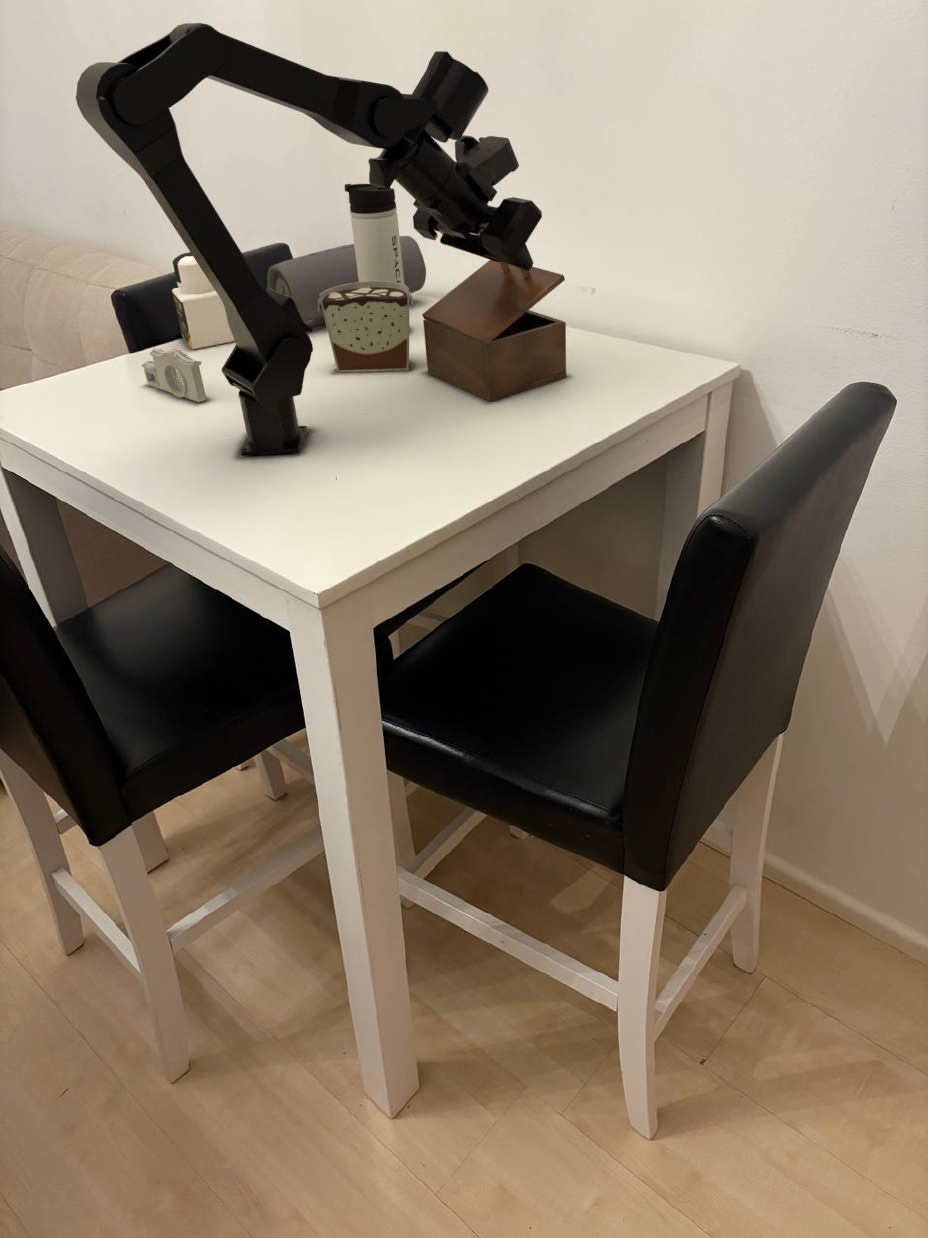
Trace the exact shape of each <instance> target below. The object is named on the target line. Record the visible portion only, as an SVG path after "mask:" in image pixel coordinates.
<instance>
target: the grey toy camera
mask: <svg viewBox="0 0 928 1238" xmlns="http://www.w3.org/2000/svg"><path fill="white" fill-rule="evenodd" d="M149 355H150V356H152V360H145V361H143V363H142V364H141V368H143V372H144V375H145V380H146V383H147V384H148V386H151V387H153V388H157V389H158V390H159V389H160V390H162V391H165V392H168V393H171V394H173V395H174V396H175V397H176V398H185V399H187V400H191V401H194V402H197V403H201V402H203V401H206V400H207V395H206V391H205V386H204V382H203V378H202V372H201V369H200V366H202V363H203V361H201V360H195V359H194V358H192V357H190V356H188V354H187V353H184V351H182V350H181V349H174V348H173V349H172V348H171V349H168V350H163V349H162V348H155V347H153V348H152V349H151V351H150V352H149Z"/></svg>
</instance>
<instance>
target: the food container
mask: <svg viewBox="0 0 928 1238" xmlns="http://www.w3.org/2000/svg"><path fill="white" fill-rule="evenodd" d="M319 296H320V299H319V300H318V312H319V311H320V310H321V309H322V310H323V314H324V318H325V322H326V323H325V326H326V330H327V334H328V338H329V342H330V346H331V350H332V351H331V352H332V354H333V358H334V362H335V366H336V371H337V373H366V372H367V373H368V372H369V373H370V372H397V371H398V372H400V371H409V370H410V303H411V306H412V309H414V308H415V301H414V298H413V295H412V293H411V292H410V291H409V289H408V287H407V286H406V285H404V284H401V283H397V282H391V281H363V282H355V283H349V284H344V285H339V286H336V287H333V288H330V289H327V290H325V291H324V292H322V293H321V294H320V295H319Z"/></svg>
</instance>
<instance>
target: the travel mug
mask: <svg viewBox="0 0 928 1238" xmlns="http://www.w3.org/2000/svg"><path fill="white" fill-rule="evenodd" d="M344 192H346V193H348V202H349V214H350V222H351V230H352V237H353V238H352V239H353V244H354V247H355V255H356V263H357V271H358V279H359V282H363V281H391V282H397V283H401V284H404V277H403V267H402V256H401V246H400V236H401V235H400V228H399V218H398V217H399V216H398V212H397V211H398V208H397V202H396V193H395V192H396V191H395V189H394V188H391V187H390V188H383V187H379V186H374V185H371V184H370V183H346V184H344Z"/></svg>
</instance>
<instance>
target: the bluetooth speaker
mask: <svg viewBox="0 0 928 1238" xmlns="http://www.w3.org/2000/svg"><path fill="white" fill-rule="evenodd" d="M399 236H400V246H401V256H402V267H403V277H404V285H406V286H407V287H408V289H409V291H410V292H411V294H413V293H416V292H418V291H420V290H421V289H423V287H424V285H425V284H426V279H427V268H426V263H425V259H424V256H423V253H422V251H421V248H420V246H419V244H418V242H417V241H416V239H415V238H413V237H412V236H410V235H399ZM267 270H268V271H267V288H270V289H272V290H275V291H277V292H279V293H282V294H284V295H286V296H289V297H291V298H292V299H293V301H294V302H295V304H296V306H297V309H298V311H299V314H300V316H301V318H302V320H303V321H304V322H305V323H306V322H310V321H311V322H312V321H317V320H320V322H322V323H323V324H326V322H325V318H324V314H323V310H322V309H321V310H320V311H319V312H318V300H319V299H320V296H319V295H320V294H321V293H322V292H324V291H325V290H327V289H330V288H333V287H336V286H339V285H344V284H349V283H355V282H359V279H358V271H357V263H356V255H355V247H354V243H351V244H344V245H340V246H336V247H334V248H328V249H325V250H319V251H315V252H312V253H309V254H305V255H302V256H298V257H294V258H291V259H287V260H284V261H281V262H278V263H276V264H273V265H271V266H270V267H268V269H267Z"/></svg>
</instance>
